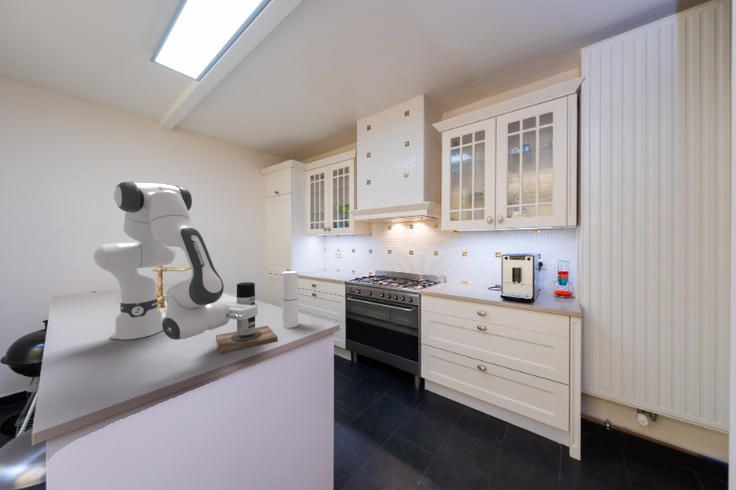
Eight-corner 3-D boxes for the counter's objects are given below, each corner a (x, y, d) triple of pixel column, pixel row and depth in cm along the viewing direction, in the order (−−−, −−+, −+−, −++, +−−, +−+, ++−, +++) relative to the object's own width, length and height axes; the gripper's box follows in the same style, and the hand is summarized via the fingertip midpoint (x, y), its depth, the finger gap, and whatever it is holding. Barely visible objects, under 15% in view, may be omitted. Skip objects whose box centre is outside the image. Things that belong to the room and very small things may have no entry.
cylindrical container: (279, 327, 118) (278, 272, 117) (286, 322, 125) (286, 270, 124) (294, 328, 117) (293, 273, 116) (300, 323, 124) (300, 271, 123)
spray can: (250, 336, 100) (250, 285, 100) (233, 335, 100) (233, 284, 100) (258, 330, 107) (258, 282, 106) (241, 329, 107) (241, 281, 106)
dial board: (216, 338, 105) (216, 334, 105) (267, 328, 116) (267, 324, 116) (220, 353, 92) (220, 348, 92) (277, 340, 103) (277, 336, 103)
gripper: (239, 308, 88) (268, 299, 101) (196, 302, 95) (228, 295, 108) (239, 326, 88) (268, 315, 101) (197, 319, 95) (229, 310, 108)
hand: (247, 304), depth 104 cm, fingers closed on spray can, 6 cm apart
